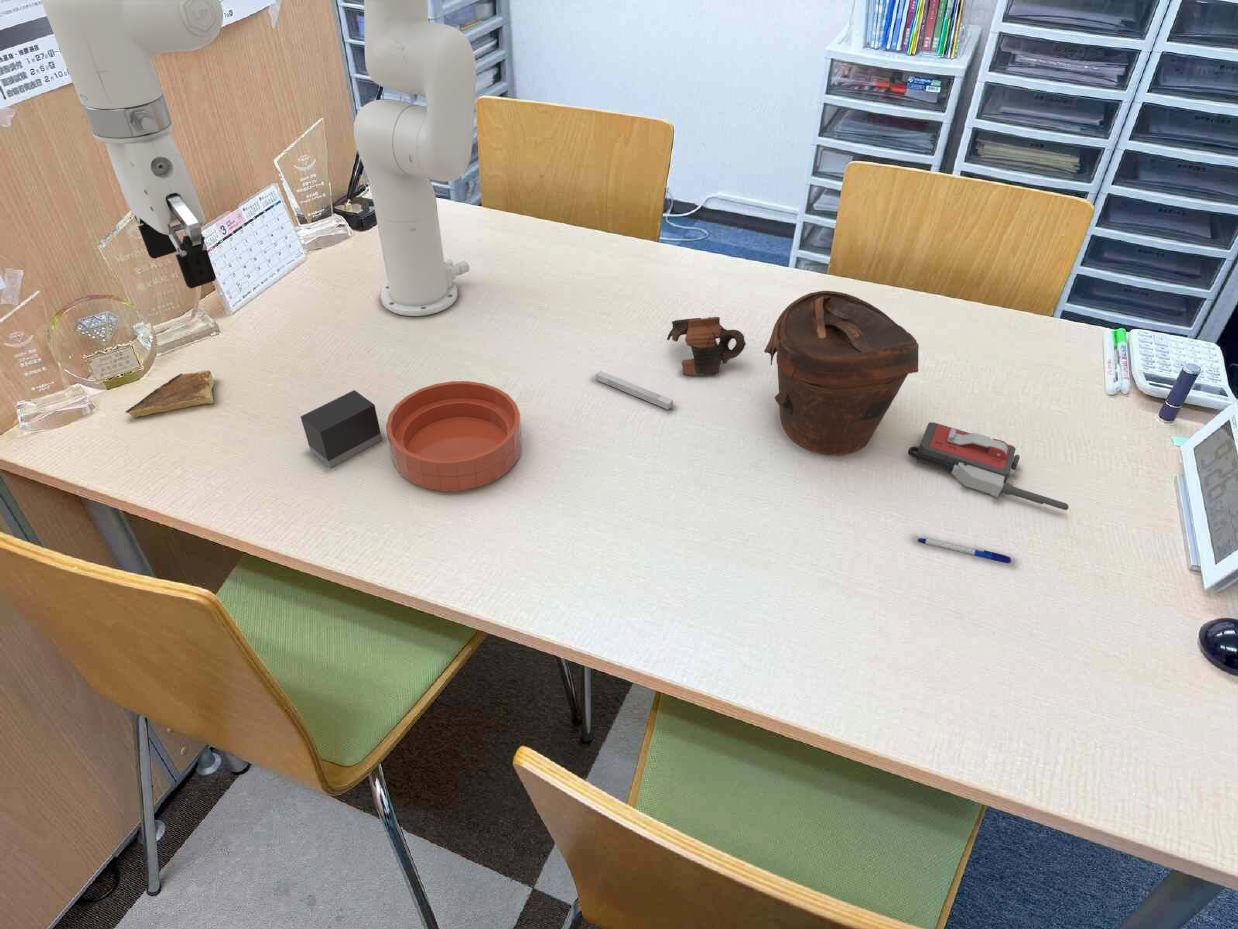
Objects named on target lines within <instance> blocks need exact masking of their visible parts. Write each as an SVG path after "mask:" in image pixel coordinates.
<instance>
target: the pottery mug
mask: <svg viewBox="0 0 1238 929" xmlns="http://www.w3.org/2000/svg"><path fill="white" fill-rule="evenodd" d="M720 319H721V318H720V317H719V316H711V317H705V318H704V317H703V318H701V317H693V318H684V319H675V320H672V321H671V324H672V328H671V330H670V331H669V333H668V335H667V338H666V340H667V341H670V340H672V341H674V342H676V343H677V342H678V341H679V339H680V337H681V336H684V335H685V337H684V341H685V344H686V345H687V346H689V347H690V349H691V352H692V356H693V358H690V359H682V360H681V366H682V373H683V375H687V376H689V375H691V376H692V375H711V374H712V375H713V374H717V373H720V369H721V365H722V363H723V364H727V363H728V361H730V360H731V359H735V358H737V357H739V355H741V353H742V352H743V351H744V350H745V346H746V345H747V342H746V341H745V335H744V334H743V333H742V332H741V331H740V330H737V329H726V328H724V327H723V325H721V322H720V321H721V320H720ZM718 339H719V342H717V340H718ZM732 339H734V340H735V345H734V347H732V349H730V347H729V344H730V342H731V341H732Z"/></svg>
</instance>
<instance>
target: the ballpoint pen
mask: <svg viewBox="0 0 1238 929" xmlns="http://www.w3.org/2000/svg"><path fill="white" fill-rule="evenodd" d="M917 542H919V543H921V544H925V545H929V546H932V547H933V546H934V547H938V548H941V549H946V550H950V551H955V552H960V553H963V554H968V555H972V556H975V557H980V558H984V559H988V560H992V561H996V562H1000V563H1006V564H1010V563H1011V562H1012V559H1011V557H1010V556H1008V555H1004V554H1001V553H998V552H994V551H989V550H985V549H984V550H980V549H973V548H968V547H964V546H959V545H955V544H951V543H946V542H943V541H938V540H935V539H929V538H922V537H921V538H920V537H918V539H917Z"/></svg>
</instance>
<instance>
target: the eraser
mask: <svg viewBox="0 0 1238 929" xmlns="http://www.w3.org/2000/svg"><path fill="white" fill-rule="evenodd" d="M300 420H301V423H302V426H303V430H304V434H305V437H306V441H307V443H308V447H309V451H310V453H311V454H312V455H313V456H315V458H317V459H319V460H320V461H321V462H322V463H323V464H324V465H325V466H326V467H328V468H329V469H332V468H333V467H334V468H335V467H336V466H337V465H339V464H341V463H343V462H344V461H346V460H348V459H350V458H352V457H355V455H358V454H359V453H361V452H363V451H365V450H367V449H369V448H370V447H373V446H374V445H375V444H376V445H377V444H378V443H379V442H382V441H383V437H382V432H381V428H380V422H379V419H378V414H377V410H376V406H375V403H373V402H372V401H370V400H369V399H368V398H366V397H365V396H363V395H362V394H360V393H359V392H358V391H357V390H355V389H353V390H351V391H349V392H347V393H345V394H343V395H341V396H339V397H337V398H335V399H333V400H331V401H329V402H326V403H325V404H323V405H321V406H319V407H317V408H315V409H313V410H311V411H309V412H307V413H305V414H302V415H301V416H300Z"/></svg>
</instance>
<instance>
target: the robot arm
mask: <svg viewBox="0 0 1238 929" xmlns="http://www.w3.org/2000/svg"><path fill="white" fill-rule="evenodd" d="M41 3H42V6H43V10H44V12H45V15H46V17H47V20H48V23H49V26H50V27H51V30H52V33H53V35H54V38H55V41H56V43H57V46H58V48H59V51H60V53H61V56H62V59H63V61H64V63H65V67H66V69H67V72H68V75H69V77H70V79H71V82H72V84H73V87H74V90H75V93H76V94H77V98H78V100H79V103H80V105H81V107H82V110H83V112H84V115H85V119H86V120H87V123H88V126H89V128H90V131H91V133H92V136H93V138H94V139H95V140H96V141H98V142H101V143H104V146H105V148H106V151H107V154H108V158H109V160H110V164H111V167H112V169H113V173H114V175H115V177H116V180H117V183H118V186H119V189H120V191H121V194H122V196H123V198H124V200H125V202H126V204H127V206H128V208H129V210H131V212H132V213H133V217H134V219H135V222H136V223H137V225H138V226H137V228H138V230H139V233H140V235H141V238H142V241H143V243H144V246H145V248H146V249H145V250H146V252H147V254H148V257H150V258H151V259H154V260H155V259H158V258H161V257H165V256H167V255H172V254H173V253H176V252H177V254H175V257H176V260H177V263H178V266H179V268H180V269H179V270H180V271H181V274H182V277H183V280H184V283H185V286H186V287H187V288H189V289H194V288H197V287H200V286H203V285H206V284H209V283H212V282H215V281H216V279H217V276H216V272H215V269H214V267H213V264H212V261H211V258H210V255H209V251H208V246H207V244H206V241H205V235H204V234H202V226H203V225H204V224H205V223H206V217H205V213H204V211H203V207H202V206H201V202H200V199H199V196H198V194H197V191H196V190H195V186H194V184H193V181H192V178H191V176H190V173H189V170H188V168H187V165H186V163H185V161H184V158H183V156H182V154H181V151H180V149H179V147H178V145H177V143H176V141H175V139H174V137H173V135H172V134H171V132H172V131H173V129H174V124H173V122H172V118H171V115H170V112H169V109H168V106H167V102H166V99H165V96H164V94H163V90H162V87H161V84H160V80H159V77H158V74H157V71H156V68H155V65H154V62H153V59H152V57H154V56H155V55H160V54H171V53H184V52H191V51H192V52H193V51H197V50H199V49H203V48H205V47H206V46H208V45H209V44H211V43H212V42H213V41H215V39H216V38H217V37H218V35H219V33H220V32H221V29H222V26H223V22H224V10H223V6H222V2H221V0H41ZM363 20H364V21H363V25H364V26H363V28H364V29H363V32H364V33H363V34H364V37H363V38H364V39H363V40H364V42H363V43H364V62H365V69H366V72H367V74H368V76H369V78H370V80H371V81H372V82H374V83H375V84H376V85H378V86H379V87H382V88H384V89H387V90H391V91H395V92H400V93H403V94H410V95H414V96H420V97H425V101H426V106H421V105H419V104H413V103H410V102H404V101H398V100H394V99H393V100H392V99H375V100H372V101H369V102H368V103H366V104H364V105H363V106H362V107H360V109H359V110H358V112H357V114H356V116H355V118H354V122H353V139H354V144H355V147H356V151H357V153H358V156H359V159H360V161H361V164H362V166H363V168H364V171H365V174H366V177H367V180H368V185H369V188H370V193H371V197H372V202H373V208H374V214H375V218H376V224H377V230H378V237H379V241H380V246H381V251H382V258H383V262H384V267H385V268H384V269H385V274H386V280H387V284H386V285H385V286H384V287H383V288H382V289H381V291H380V299H381V300H380V301H381V303H382V305H383V307H384V308H385V309H387V310H388V311H389V312H391V313H394V314H397V315H400V316H407V317H422V316H429V315H433V314H437V313H440V312H443V311H444V310H446V309H448V308H449V307H451V306H452V305H454V303H455V301H457V299H458V286H457V285H456V283H455V282H453V281H454V280H456V277H458V276H460V275H463V274H465V273H468V272H469V271H470V266H469V263H468V262H467V261H466V260H462V261H460V262H457V263H455V264H454V262H453V261H452V260H451V259H448V260H446V261H445V257H444V256H445V255H444V249H443V242H442V234H441V227H440V219H439V218H440V217H439V211H438V201H437V196H436V191H435V189H434V186H433V183H432V181H431V180H433V181H437V182H445V183H446V182H454V181H457V180H458V179H460V178H461V177H462V176H463V175H464V174H465V172H466V171H467V169H468V167H469V164H470V163H471V162H470V161H471V157H472V152H473V144H474V128H475V127H474V125H475V109H476V108H475V107H476V106H475V105H476V90H477V89H476V88H477V87H476V86H477V63H476V57H475V53H474V50H473V47H472V44H471V42H470V40H469V39H468V37H467V36H466V35H465V33H464V32H462V31H461V30H460V29H458V28H457V27H454V26H452V25H449V24H445V23H440V22H432V21H430V20H429V0H363ZM177 222H179V223H178V224H176V225H173V226H172V224H174V223H177ZM182 233H184V234H185V235H184V236H183V237H182V241H181V238H180V237H179V236H178V235H179V234H182Z"/></svg>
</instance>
